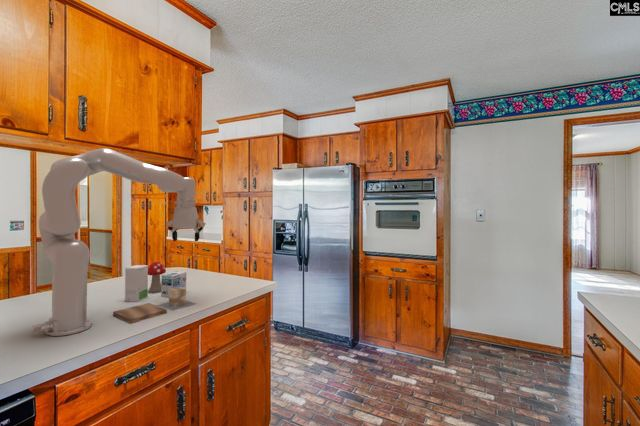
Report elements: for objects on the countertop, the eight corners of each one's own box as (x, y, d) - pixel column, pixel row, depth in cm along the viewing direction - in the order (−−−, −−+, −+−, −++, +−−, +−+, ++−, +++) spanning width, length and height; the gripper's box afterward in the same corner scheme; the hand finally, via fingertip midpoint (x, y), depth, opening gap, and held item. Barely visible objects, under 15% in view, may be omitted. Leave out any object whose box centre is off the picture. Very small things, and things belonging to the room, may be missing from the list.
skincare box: (138, 302, 139) (138, 268, 139) (123, 302, 139) (124, 267, 139) (148, 297, 148) (148, 264, 147) (134, 296, 148) (135, 264, 147)
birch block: (175, 306, 134) (175, 290, 134) (169, 304, 136) (169, 289, 136) (185, 304, 138) (186, 288, 138) (179, 302, 141) (179, 286, 141)
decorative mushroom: (154, 288, 164) (154, 260, 163) (169, 289, 163) (169, 260, 162) (141, 293, 154) (141, 263, 153) (157, 294, 153) (158, 264, 153)
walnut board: (130, 323, 114) (130, 319, 114) (113, 315, 122) (113, 311, 122) (166, 313, 126) (166, 309, 126) (148, 306, 134) (148, 303, 134)
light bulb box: (172, 298, 147) (173, 275, 147) (160, 297, 148) (160, 274, 148) (186, 292, 157) (187, 271, 157) (175, 291, 159) (175, 270, 158)
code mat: (172, 311, 129) (172, 310, 129) (156, 305, 135) (156, 305, 135) (197, 304, 139) (197, 303, 139) (182, 299, 146) (182, 298, 146)
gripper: (163, 203, 138) (163, 241, 138) (203, 204, 139) (202, 242, 140) (170, 203, 145) (169, 239, 146) (207, 204, 147) (207, 240, 147)
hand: (185, 240), depth 143 cm, fingers open, 9 cm apart
